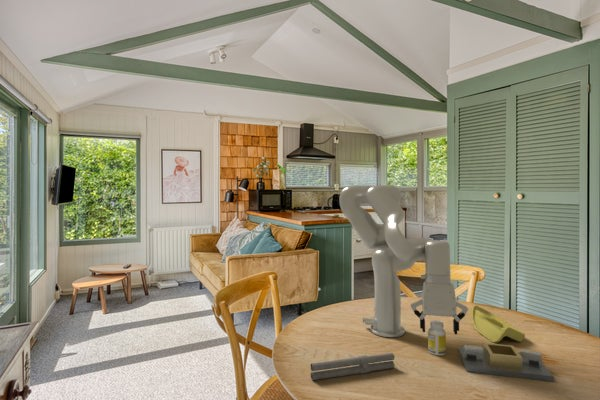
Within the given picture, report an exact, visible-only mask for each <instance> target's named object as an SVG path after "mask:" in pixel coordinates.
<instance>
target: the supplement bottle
mask: <svg viewBox="0 0 600 400" xmlns="http://www.w3.org/2000/svg"><path fill="white" fill-rule="evenodd" d="M429 324H430V325H429V326H430V327H428V329H427V330H428V331H427V334H428V336H427V340H428V341H427V342H428V343H427V349H428V352H429V354H431V355H435V356H445V355H446V353H447V332H446V330H445V329H444V322H443V321H440V320H436V319H435V320H430V323H429Z"/></svg>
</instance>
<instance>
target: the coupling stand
mask: <svg viewBox="0 0 600 400" xmlns="http://www.w3.org/2000/svg"><path fill="white" fill-rule="evenodd" d="M458 352H459V353H458V354H459V356H460V358H461V361H462V363H463V366H464V368H465V371H466V372H467V373H474V374H475V373H476V374H477V373H478V374H486V375H494V376H495V375H496V376H503V377H510V378H518V379H527V380H536V381H544V382H554V380H555V379H554V377H555V376H554V374H552V372H551V371H550V370H549V368H547V367H546V366H545V364H544V363H543V361H542V360H543V359H542V356H543V355H542V352H541V351H540V352H538V351H536V350H535V351H533V350H529V349H523V348H520V351H518V350H517V349H516V347H515V346H514V345H510V344H499V343H489V342H483V345H482V346H478V345H467V344H463V346H459V345H458Z"/></svg>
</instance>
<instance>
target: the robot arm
mask: <svg viewBox="0 0 600 400" xmlns="http://www.w3.org/2000/svg"><path fill="white" fill-rule="evenodd" d="M401 201H402V193H401V191H400V189H399V187H398V188H397V186H396V185H392V184H389V185H388V184H387V185H384V184H381V185H380V184H379V185H371V184H370V185H366V184H365V185H364V184H363V185H362V184H361V185H349V186H345V187H344V188H343V189H342V190H341V191H340V193H339V207H340V210H341V212H342V213H343V215H344V216H345V218H346V219H347V220H348V221H349V223H350V224H351V226H352V227H353V229H354V231H355V232H356V233H357V235H358V237H359V238H360V240H361V242H362V243H363V245H364V246H365V247H366V248H367V249H369V250H375V251H373V254H371V255H372V256H371V265H372V270H373V278H374V315H373V316H372V317H371V318H370V317H369V318H368V317H362V323H364V324H365V326H366V325H367V326H370V327H369V329H370V331H371V333H372V334H374V335H377V336H380V337H384V338H399V337H402V336H403V335H405V333H406V329H405V327H404V326H402V323H401V317H402V316H401V315H402V311H401V310H402V309H401V307H402V306H401V305H402V304H401V303H402V300H401V297H402V295H401V293H402V291H401V290H402V289H401V285H402V284H401V281H400V280H401V279H399V276H398V274H397V272H401V271H405V270H409V269H411V268H412V267H414V265H415V263H416V262H417V261H418V262H419V261H425V263H424V265H425V272H424V273H423V274H420V279H421V280H424V281H423V285H422V293H421V299H420V300H417V301H414V302H413V303H411V304H410V307H411V310H412V311H413V313H414V314H415V315H416V317H417V318H418V319H419V328H420V329H422V330H421V331H422V333H425V332H426V320H425V319H426V318H425V317H426V316H433V317H434V316H435V317H452V318H453V319H452V323H453V333H454V335H458V332H459V331H460V322H461V321H462V319H464V318H465V316H466V314H467V313H468V311H469V307H468V306H467V305H465V304H463V303H461V302H458V301H457V299H456V291H455V285H454V283H452V282H451V281H452V279H451V249H450V244H449V242H448V241H446V240H440V239H430V238H425V237H418V238H409V239H407V238H406V236H405V235H404V234H403V233H402V230H400V227H399V224H401V222H402V221H403V220H404V218H405V216H406V214H405V210H403V208H402V207H401V206H400V205H399V204H400V203H401ZM363 206H364V207H367V206H370V207H371V209H372V210H373V211H374V212H375V214H376V215H377V216H378V218H379V219H380V220H381V222H382V224H380V223H378V222H377V221H376V220H375V219H374V217H373V216H372V214H370V213H369V212H368V211H367V210H366V209H365V208H363ZM419 306H422V310H421V312H420V311H419V310H418V309H417V307H419ZM457 308H459V309H460V310H461V311H460V312H459V313H458V314H457Z"/></svg>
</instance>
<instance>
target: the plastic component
mask: <svg viewBox="0 0 600 400" xmlns="http://www.w3.org/2000/svg"><path fill="white" fill-rule="evenodd" d="M471 321H472V325H473V326H474V328H475V330H476V331H477V332H478V333H480V334H481V335H482V336H484V338H486V339H487V340H489V341H490V342H491V343H493V344H498V343H499V342H500V341H502V339H503V338H504V337H508V338H510V339H512V340H514V341H516V342H519V343H522V341H523V340H524V338H525V335H526V333H524V332H522V330H520V329H518V328H516V327H515V326H513V325H512V324H510V323H509V322H507V321H505V320H504V319H502V318H500V317H499V316H497V315H495V314H494V313H492V312H490V311H488V310H486V309H485V308H482V307H480V306H478V305H476V304H475V305H472V308H471Z"/></svg>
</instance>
